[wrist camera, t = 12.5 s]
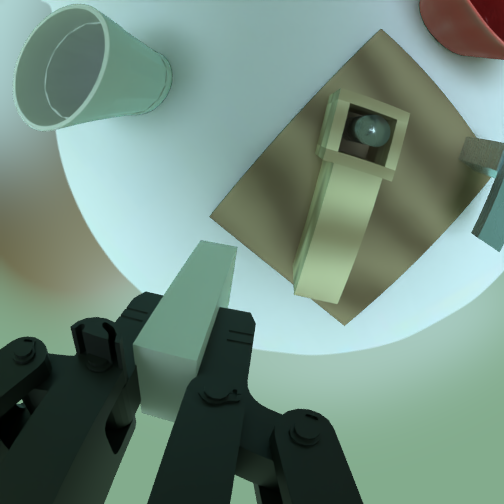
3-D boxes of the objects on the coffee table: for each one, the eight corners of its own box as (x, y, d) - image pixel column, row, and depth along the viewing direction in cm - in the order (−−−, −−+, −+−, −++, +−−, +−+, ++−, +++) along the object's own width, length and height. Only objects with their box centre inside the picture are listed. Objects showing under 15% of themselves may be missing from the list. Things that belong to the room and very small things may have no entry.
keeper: (436, 209, 24) (476, 236, 17) (466, 136, 21) (513, 144, 14) (459, 223, 24) (499, 252, 17) (488, 153, 21) (535, 166, 14)
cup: (192, 102, 23) (125, 89, 12) (116, 137, 25) (26, 153, 14) (167, 28, 21) (96, -20, 10) (95, 66, 22) (6, 53, 11)
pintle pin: (350, 112, 22) (373, 108, 16) (368, 129, 22) (396, 131, 16) (334, 129, 22) (353, 130, 16) (352, 146, 23) (376, 153, 17)
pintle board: (377, 31, 19) (381, 28, 18) (491, 168, 22) (496, 170, 21) (211, 213, 27) (209, 216, 26) (343, 320, 30) (344, 325, 29)
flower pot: (416, 64, 20) (475, 43, 11) (391, -33, 16) (428, -80, 7) (500, 79, 18) (564, 76, 9) (477, -11, 14) (528, -36, 5)
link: (336, 276, 27) (346, 305, 23) (284, 263, 27) (284, 292, 23) (386, 115, 21) (410, 113, 17) (329, 95, 21) (340, 87, 17)
